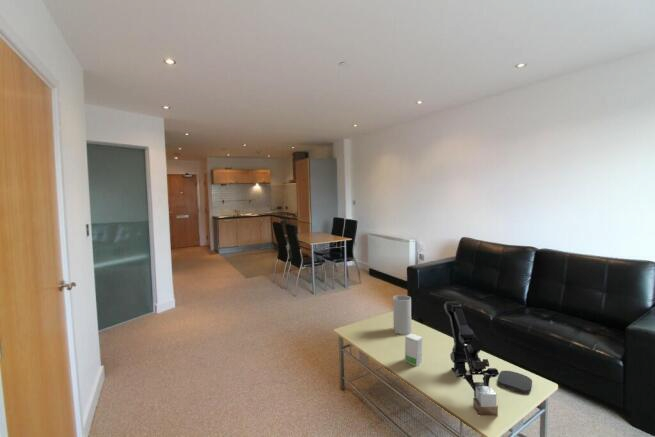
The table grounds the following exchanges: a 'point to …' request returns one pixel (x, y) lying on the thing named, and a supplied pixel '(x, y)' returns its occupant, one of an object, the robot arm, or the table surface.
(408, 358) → the skincare box
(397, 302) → the cylinder vase
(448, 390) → the table surface
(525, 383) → the media streaming box
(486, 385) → the plunger
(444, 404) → the table surface
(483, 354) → the table surface
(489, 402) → the grey brown block
